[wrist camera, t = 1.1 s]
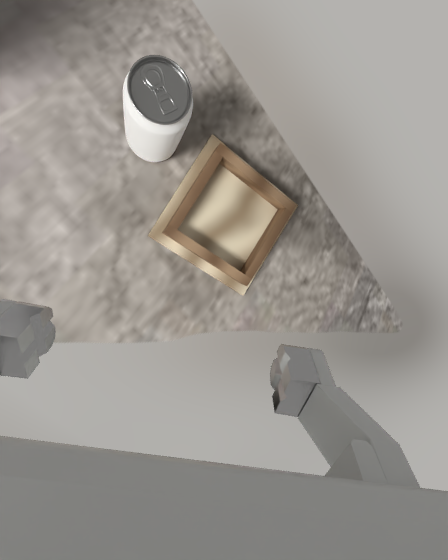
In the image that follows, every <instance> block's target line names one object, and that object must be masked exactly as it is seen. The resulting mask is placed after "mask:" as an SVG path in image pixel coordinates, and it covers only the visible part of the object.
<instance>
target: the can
mask: <svg viewBox="0 0 448 560" xmlns="http://www.w3.org/2000/svg"><path fill="white" fill-rule="evenodd" d="M123 107H124V121H125V133H126V138H127V141H128V144H129V146H130V148H131V149H132V150H133V152H134V153H135V154H136V155H138V156H139V157H140V158H142V159H144V160H146V161H150V162H161V161H164V160H166V159H168V158H169V157H170V156H171V155H172V154H173V153H174V152H175V150H176V148H177V146H178V144H179V142H180V140H181V138H182V136H183V133H184V131H185V129H186V127H187V125H188V123H189V120H190V118H191V115H192V110H193V97H192V89H191V85H190V82H189V79H188V77H187V75H186V74H185V72H184V71H183V70H182V68H181V67H180V66H179V65H178V64H176V63H175V62H174V61H172V60H171V59H169V58H166V57H164V56H160V55H149V56H145V57H143V58H141V59H139V60H138V61H137V62H135V64H134V65H133V66H132V68H131V69H130V71H129V73H128V74H127V76H126V78H125V81H124V86H123Z"/></svg>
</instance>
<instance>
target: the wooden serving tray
mask: <svg viewBox="0 0 448 560" xmlns="http://www.w3.org/2000/svg"><path fill="white" fill-rule="evenodd" d="M297 207H298V205H297V204H296V203H295V202H294V201H292V200H291V199H290V198H289V197H288V196H286V195H285V194H284V193H283V192H282V191H280V190H279V189H278V188H277V187H276V186H274V185H273V184H272V183H271V182H269V181H268V180H267V179H266V178H265V177H263V176H262V175H261V174H260V173H259V172H257V171H256V170H255V169H254V168H253V167H251V166H250V165H249V164H248V163H247V162H245V161H244V160H243V159H242V158H241V157H239V156H238V155H237V154H236V153H235V152H233V151H232V150H231V149H230V148H229V147H227V146H226V145H225V144H224V143H222V142H221V141H220V140H219V139H218V138H216V137H215V136H214V135H213V134H212V135H211V137H210V138H209V140H208V141H207V143H206V145H205V146H204V148H203V149H202V151H201V153H200V154H199V156H198V157H197V159H196V160H195V162H194V164H193V165H192V167H191V168H190V170H189V171H188V173H187V175H186V176H185V178H184V179H183V181H182V183H181V184H180V186H179V187H178V189H177V190H176V192H175V194H174V195H173V197H172V198H171V200H170V201H169V203H168V205H167V206H166V208H165V209H164V211H163V213H162V214H161V216H160V217H159V219H158V220H157V222H156V224H155V225H154V227H153V228H152V230H151V231H150V233H149V235H148V236H149V237H151V238H152V239H154V240H155V241H157V242H158V243H160V244H162V245H163V246H165V247H166V248H168V249H170V250H171V251H173V252H174V253H176V254H178V255H179V256H181V257H182V258H184V259H185V260H187V261H189V262H190V263H192V264H193V265H195V266H197V267H198V268H200V269H201V270H203V271H204V272H206V273H208V274H209V275H211V276H212V277H214V278H216V279H217V280H219V281H220V282H222V283H224V284H225V285H227V286H228V287H230V288H231V289H233V290H235V291H236V292H238V293H239V294H241V295H244V294H245V292H246V290H247V289H248V287H249V285H250V284H251V282H252V280H253V279H254V277H255V276H256V274H257V272H258V271H259V269H260V267H261V266H262V264H263V262H264V261H265V259H266V257H267V256H268V254H269V253H270V251H271V249H272V248H273V246H274V244H275V243H276V241H277V239H278V238H279V236H280V235H281V233H282V231H283V230H284V228H285V226H286V225H287V223H288V221H289V220H290V218H291V216H292V215H293V213H294V212H295V210H296V208H297Z"/></svg>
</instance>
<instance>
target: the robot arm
mask: <svg viewBox="0 0 448 560" xmlns="http://www.w3.org/2000/svg"><path fill="white" fill-rule="evenodd" d="M52 317H53V313H52V309H51V308H49V307H46V306H41V305H35V304H30V303H25V302H17V301H12V300H7V299H2V300H0V375H1V376H11V377H19V378H28V377H29V376H30V375H31V373H32V372H33V371H34V370H35V368H36V367H37V366H38V364H39V363H40V362H39V356H41V355H43V354H45V353H47V352H48V350H49V349H50V348H51V346H52V344H53V342H54V339H55V332H56V331H55V326H54V325H53V324H52V323H51V321H50V319H51V318H52ZM277 354H278V358H276V359H275V360H273V363H272V366H271V371H270V383H271V386H272V388H273V389H274V390H275V391H274V393H273V396H272V398H273V405H274V412H275V413H277V414H283V415H289V416H295V417H298V419H299V421H300V422H301V424H302V425H303V427H304V428H305V430H306V431H307V433H308V434H309V435H310V437H311V438H312V440H313V441H314V443H315V444H316V446H317V447H318V449H319V450H320V452H321V453H322V455H323V456H324V457H325V459H326V460H327V462H328V464H329V465H330V466H331V468H330V469H329V471H328V472H327V473H326V475H325V476H319V475H312V474H304V473H296V472H287V471H280V470H272V469H264V468H256V467H248V466H240V465H231V464H223V463H215V462H207V461H199V460H191V459H182V458H174V457H167V456H158V455H151V454H142V453H134V452H126V451H118V450H110V449H101V448H94V447H86V446H78V445H69V444H62V443H53V442H45V441H37V440H29V439H21V438H13V437H5V436H0V560H448V491H441V490H433V489H425V488H420V486H419V484H418V482H417V480H416V478H415V476H414V474H413V472H412V470H411V468H410V465H409V463H408V461H407V459H406V457H405V455H404V453H403V451H402V449H401V447H400V445H399V444H398V443H397V442H396V441H395V440H394V439H393V438H392V437H391V436H390V435H389V434H388V433H387V432H386V431H385V430H384V429H383V428H382V427H381V426H380V425H379V424H378V423H377V422H375V421H374V420H373V419H372V418H371V417H370V416H369V415H368V414H367V413H366V412H365V411H364V410H363V409H362V408H361V407H360V406H359V405H358V404H357V403H356V402H355V401H354V400H353V399H351V397H350V396H348V394H347V393H345V392H344V391H343V390H342V389H341V388H340V387H336V385H335V383H334V380H333V377H332V375H331V372H330V369H329V366H328V364H327V361H326V358H325V356H324V353H323V351H322V350H318V349H312V348H304V347H297V346H290V345H284V344H281V345H280V346H279V348H278V350H277Z"/></svg>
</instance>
